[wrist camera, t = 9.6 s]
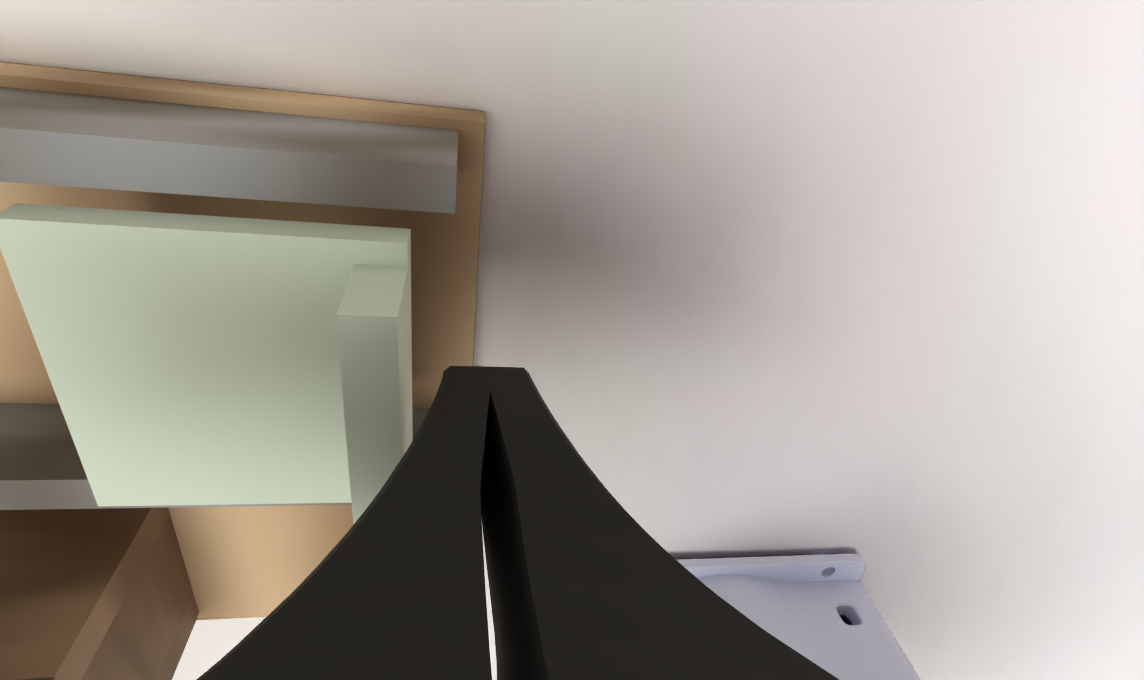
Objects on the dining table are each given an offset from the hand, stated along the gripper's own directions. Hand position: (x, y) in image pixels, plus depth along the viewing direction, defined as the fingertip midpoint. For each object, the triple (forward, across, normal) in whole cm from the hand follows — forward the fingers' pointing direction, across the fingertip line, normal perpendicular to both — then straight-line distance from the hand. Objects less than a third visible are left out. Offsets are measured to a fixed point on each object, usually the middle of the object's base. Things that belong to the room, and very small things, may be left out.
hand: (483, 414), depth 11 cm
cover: (+1, +4, 0) cm, 4 cm away
